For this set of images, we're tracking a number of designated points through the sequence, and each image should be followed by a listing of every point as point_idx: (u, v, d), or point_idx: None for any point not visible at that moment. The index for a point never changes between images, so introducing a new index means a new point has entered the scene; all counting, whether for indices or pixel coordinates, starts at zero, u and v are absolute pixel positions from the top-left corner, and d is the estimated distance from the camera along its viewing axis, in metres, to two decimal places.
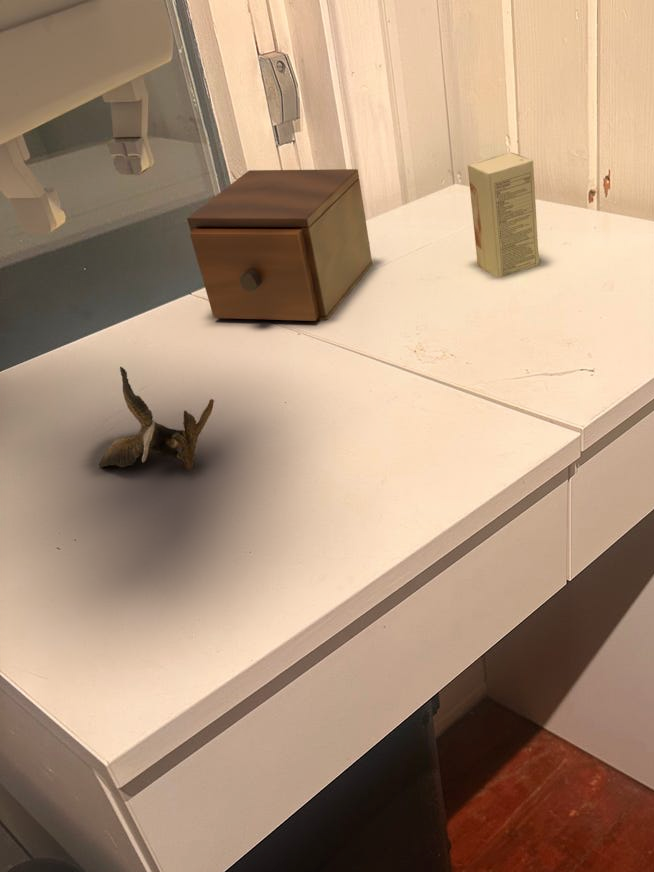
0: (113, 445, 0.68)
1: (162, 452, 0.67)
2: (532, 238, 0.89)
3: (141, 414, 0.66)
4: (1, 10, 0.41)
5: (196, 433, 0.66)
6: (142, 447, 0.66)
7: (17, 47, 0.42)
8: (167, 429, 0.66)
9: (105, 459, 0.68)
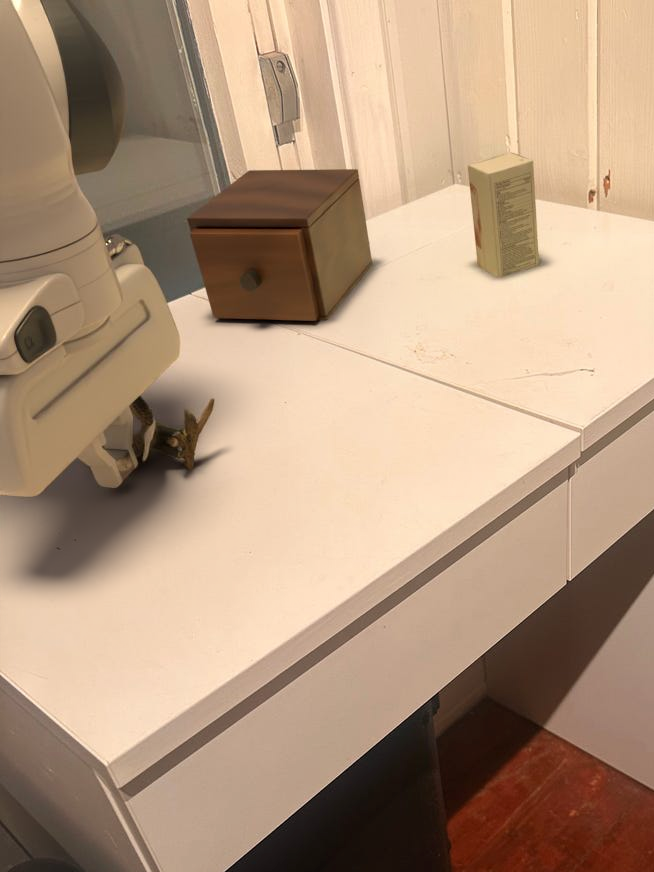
0: None
1: (163, 451, 0.67)
2: (532, 238, 0.89)
3: (142, 413, 0.66)
4: (55, 386, 0.56)
5: (197, 432, 0.66)
6: (143, 446, 0.66)
7: (66, 407, 0.57)
8: (168, 428, 0.66)
9: None
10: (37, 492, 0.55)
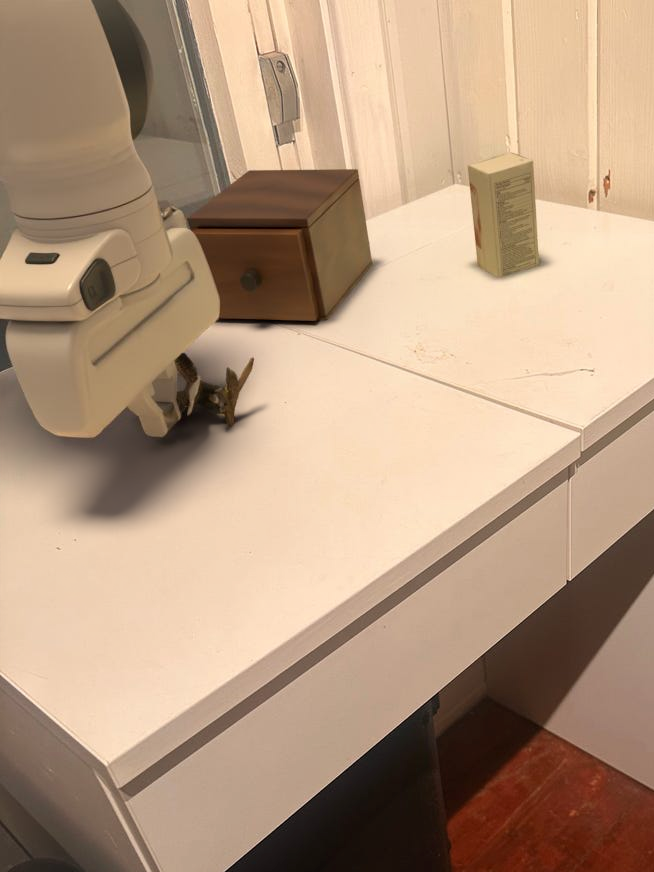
0: None
1: (205, 407, 0.71)
2: (532, 238, 0.89)
3: (186, 371, 0.70)
4: (111, 336, 0.60)
5: (237, 389, 0.71)
6: (187, 401, 0.70)
7: (121, 356, 0.61)
8: (210, 385, 0.71)
9: None
10: (95, 433, 0.60)
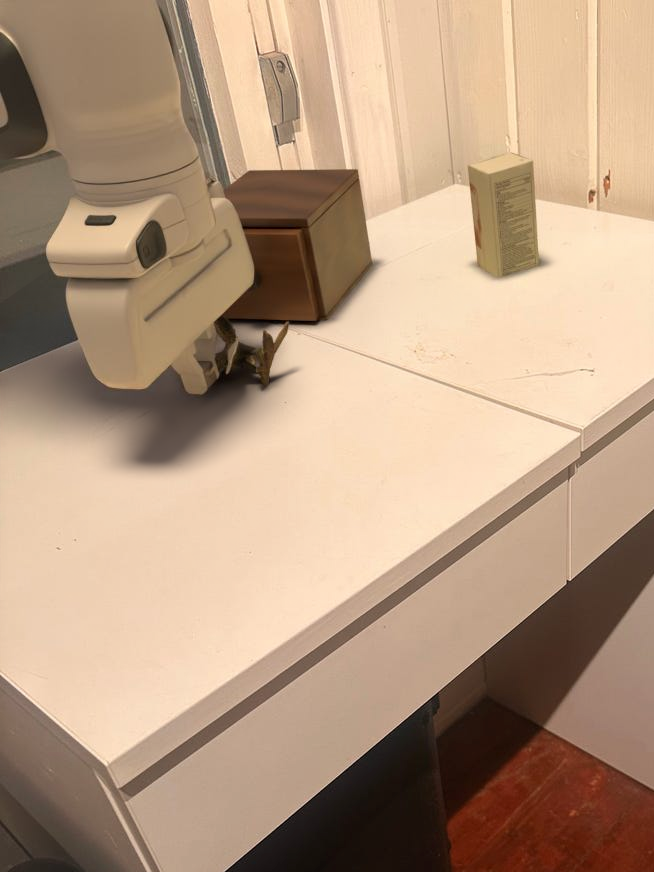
0: None
1: (242, 367, 0.76)
2: (532, 238, 0.89)
3: (226, 333, 0.75)
4: (160, 295, 0.65)
5: (273, 351, 0.75)
6: (226, 362, 0.75)
7: (168, 315, 0.66)
8: (248, 347, 0.75)
9: None
10: (146, 384, 0.64)
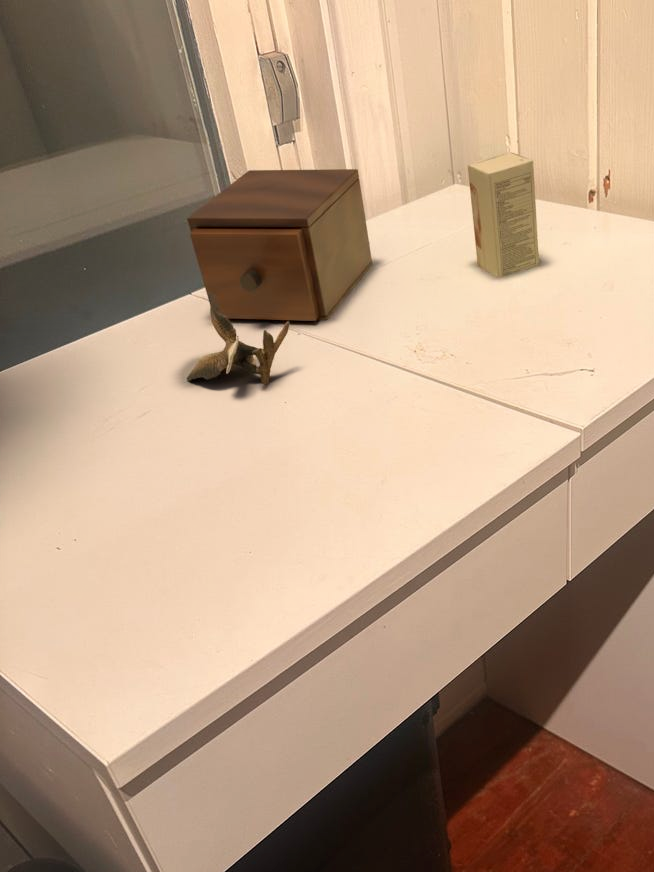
0: (200, 361, 0.77)
1: (243, 367, 0.76)
2: (532, 238, 0.89)
3: (226, 332, 0.75)
4: None
5: (273, 351, 0.75)
6: (226, 361, 0.75)
7: None
8: (248, 346, 0.75)
9: (193, 373, 0.77)
10: None
